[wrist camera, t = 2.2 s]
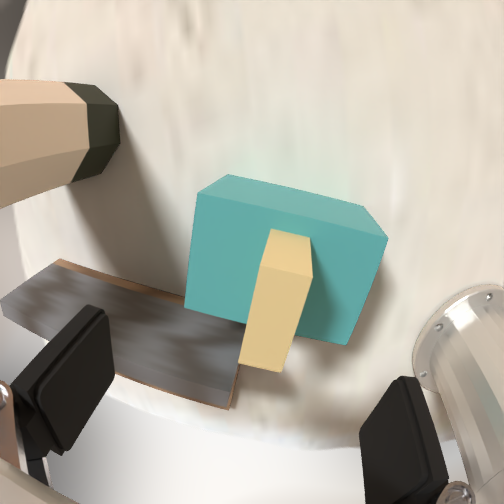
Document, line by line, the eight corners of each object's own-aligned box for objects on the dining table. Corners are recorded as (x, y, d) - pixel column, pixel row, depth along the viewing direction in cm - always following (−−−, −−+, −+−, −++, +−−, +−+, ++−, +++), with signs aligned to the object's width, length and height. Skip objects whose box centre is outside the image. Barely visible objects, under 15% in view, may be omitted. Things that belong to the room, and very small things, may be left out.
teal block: (363, 206, 21) (416, 276, 11) (336, 290, 24) (353, 399, 13) (227, 174, 22) (161, 216, 11) (213, 261, 25) (155, 354, 14)
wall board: (251, 314, 26) (229, 392, 18) (230, 402, 31) (211, 470, 22) (59, 258, 27) (-1, 300, 19) (72, 346, 32) (31, 393, 24)
